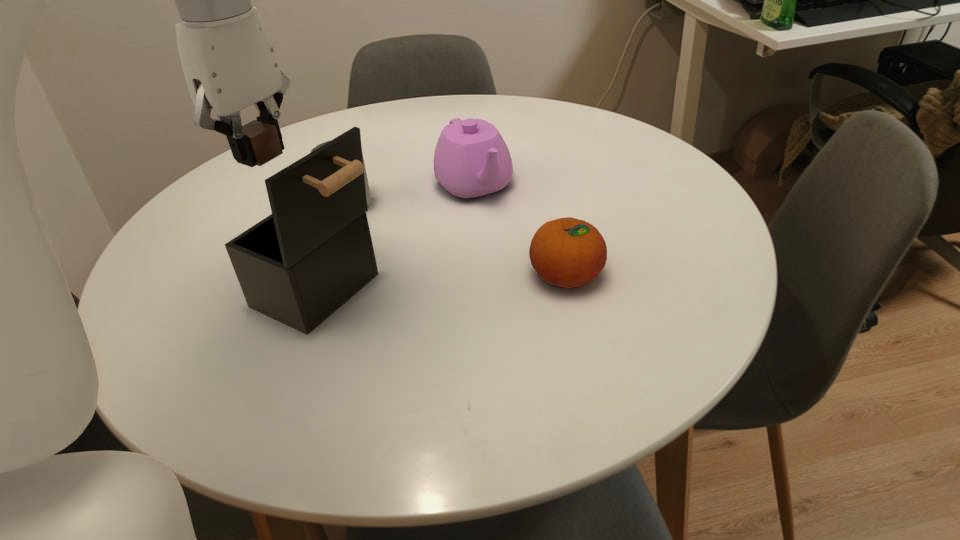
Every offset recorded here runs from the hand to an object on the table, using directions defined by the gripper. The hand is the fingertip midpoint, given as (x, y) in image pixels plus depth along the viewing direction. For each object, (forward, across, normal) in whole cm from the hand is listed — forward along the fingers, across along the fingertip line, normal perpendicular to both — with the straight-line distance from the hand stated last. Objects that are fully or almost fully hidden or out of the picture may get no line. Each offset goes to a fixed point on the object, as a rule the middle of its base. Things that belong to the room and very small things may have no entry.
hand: (260, 154), depth 78 cm
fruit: (+21, -20, +33) cm, 44 cm away
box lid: (+3, 0, +9) cm, 10 cm away
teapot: (+21, -35, +8) cm, 41 cm away
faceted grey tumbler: (+21, -20, -9) cm, 30 cm away
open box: (+21, 0, +3) cm, 21 cm away
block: (0, 0, 0) cm, 0 cm away
